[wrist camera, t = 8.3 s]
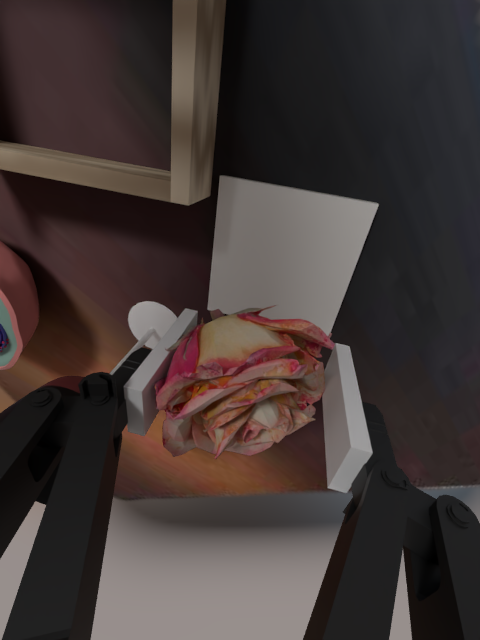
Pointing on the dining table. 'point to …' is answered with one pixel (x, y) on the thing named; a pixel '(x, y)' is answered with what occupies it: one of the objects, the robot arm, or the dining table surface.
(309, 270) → the tile
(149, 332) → the wineglass
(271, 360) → the flower
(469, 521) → the robot arm
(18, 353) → the cell model
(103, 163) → the frame
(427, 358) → the dining table surface
